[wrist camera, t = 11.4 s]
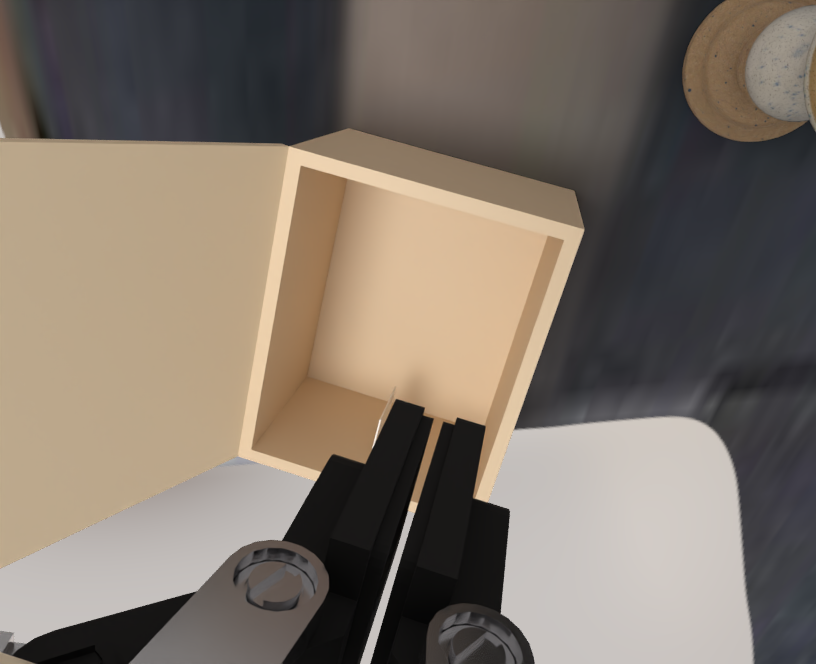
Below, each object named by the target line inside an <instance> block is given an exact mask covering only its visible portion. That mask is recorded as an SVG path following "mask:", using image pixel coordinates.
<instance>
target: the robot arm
mask: <svg viewBox="0 0 816 664" xmlns="http://www.w3.org/2000/svg"><path fill="white" fill-rule="evenodd" d="M424 410H425V407H422V406H418V405H415V404H412V403H409V402H405V401H402V400H399V399H396V400H395V402H394V404H393V406H392V408H391V410H390V413H389V415H388V417H387V419H386V421H385V423H384V425H383V427H382V429H381V432H380V434H379V436H378V438H377V440H376V442H375V444H374V446H373V448H372V451H371V453H370V455H369V457H368V459H367V461H366V463H365V464H364V463H361V462H358V461H355V460H351V459H348V458H345V457H342V456H339V455H336V454H333V455H331V457H330V458H329V460H328V461H327V463H326V465H325V467H324V468H323V470H322V472H321V474H320V475H319V477H318V479H317V481H316V482H315V484H314V486H313V488H312V489H311V491H310V493H309V495H308V496H307V498H306V500H305V502H304V504H303V505H302V507H301V508H300V510H299V512H298V514H297V516H296V517H295V519H294V521H293V522H292V524H291V526H290V528H289V530H288V531H287V533H286V535H285V537H284V538H283V540H282V541H278V540H267V541H259V542H254V543H252V544H249V545H247V546H244V547H242V548H240V549H239V550H238V551H236V552H235V553H234V554H232V555H231V556H230V557H229V558H228V559H227V560H226V561H225V562H224V563H223V564H222V565H221V567H220V568H219V569H218V570H217V571H216V572H215V573H214V574H213V575H212V576H211V577H210V578H209V579H208V581H206V582H205V583H204V585H203V586H202V587H201V588H200V589H199V590H198V591H196V592H193V593H190V594H185V595H182V596H178V597H175V598H171V599H167V600H164V601H160V602H157V603H153V604H149V605H145V606H142V607H138V608H135V609H131V610H127V611H124V612H120V613H116V614H113V615H109V616H106V617H102V618H98V619H95V620H91V621H87V622H84V623H80V624H77V625H73V626H69V627H66V628H62V629H58V630H55V631H52V632H50V633H47V634H44V635H42V636H39V637H37V638H34V639H33V640H31V641H30V642H28V643H27V644H23V643H15V642H14V633H11V632H4V631H0V664H360V661H361V658H362V656H363V652H364V649H365V646H366V643H367V640H368V637H369V633H370V631H371V628H372V625H373V621H374V618H375V615H376V612H377V609H378V606H379V603H380V600H381V596H382V594H383V590H384V587H385V584H386V581H387V578H388V575H389V572H390V569H391V566H392V563H393V559H394V556H395V553H396V550H397V547H398V544H399V540H400V537H401V533H402V529H403V526H404V523H405V519H406V516H407V512H408V509H409V505H410V502H411V498H412V495H413V491H414V488H415V484H416V481H417V477H418V474H419V470H420V466H421V463H422V459H423V456H424V452H425V449H426V445H427V442H428V438H429V435H430V431H431V428H432V424H433V421H434V418H431V417H427V416H424V415H423V414H424ZM485 429H486V426H484V425H481V424H478V423H474V422H471V421H468V420H464V419H461V418H458V417H457V418H456V422H455V425H454V424H450V423H447V422H444V421H443V424H442V427H441V430H440V433H439V437H438V440H437V443H436V446H435V450H434V453H433V456H432V459H431V463H430V466H429V469H428V472H427V476H426V479H425V482H424V485H423V489H422V492H421V495H420V498H419V502H418V505H417V508H416V511H415V515H414V518H413V521H412V525H411V527H410V531H409V534H408V537H407V541H406V544H405V547H404V550H403V554H402V557H401V560H400V564H399V567H398V570H397V574H396V577H395V581H394V584H393V587H392V591H391V595H390V598H389V601H388V605H387V609H386V612H385V615H384V619H383V623H382V626H381V629H380V633H379V636H378V639H377V643H376V647H375V650H374V653H373V657H372V660H371V663H370V664H535V662H534V657H533V654H532V650H531V648H530V644H529V642H528V641H527V639H526V638H525V636H524V635H523V633H522V632H521V630H520V629H519V628H518V627H517V626H516V625H515V624H513V623H512V622H511V621H510V620H509V619H508V618H507V617H505V616H503V615H502V614H501V603H502V592H503V582H504V571H505V560H506V549H507V538H508V528H509V517H510V511H509V509H507V508H503V507H500V506H497V505H493V504H491V503H488V502H484V501H481V500H478V499H475V498H473V494H474V489H475V483H476V478H477V472H478V467H479V462H480V456H481V451H482V445H483V440H484V434H485Z"/></svg>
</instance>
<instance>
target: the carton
mask: <svg viewBox="0 0 816 664" xmlns="http://www.w3.org/2000/svg"><path fill="white" fill-rule="evenodd" d="M584 230H585V229H584V225H583V221H582V217H581V214H580V210H579V206H578V202H577V198H576V195H575V191H574V190H570V189H566V188H563V187H559V186H556V185H552V184H548V183H545V182H541V181H537V180H534V179H530V178H527V177H523V176H519V175H516V174H512V173H509V172H505V171H501V170H498V169H494V168H490V167H487V166H483V165H480V164H476V163H472V162H469V161H465V160H462V159H458V158H454V157H451V156H447V155H443V154H440V153H436V152H433V151H429V150H425V149H422V148H418V147H415V146H411V145H407V144H404V143H400V142H397V141H393V140H389V139H386V138H382V137H378V136H375V135H371V134H368V133H364V132H360V131H357V130H353V129H350V128H348V129H345V130H341V131H338V132H335V133H332V134H328V135H325V136H322V137H318V138H315V139H312V140H309V141H305V142H302V143H299V144H296V145H292V146H289V150H288V156H287V162H286V168H285V174H284V180H283V186H282V192H281V198H280V204H279V210H278V216H277V222H276V228H275V234H274V240H273V246H272V252H271V258H270V264H269V270H268V277H267V283H266V289H265V295H264V301H263V307H262V313H261V319H260V325H259V331H258V337H257V343H256V349H255V355H254V361H253V367H252V373H251V379H250V385H249V391H248V397H247V403H246V409H245V416H244V422H243V428H242V434H241V440H240V446H239V452H238V456H239V457H242V458H245V459H248V460H251V461H254V462H258V463H261V464H264V465H267V466H270V467H273V468H276V469H279V470H283V471H286V472H289V473H292V474H295V475H298V476H301V477H304V478H307V479H311V480H314V481H317V479H318V477H319V475H320V474H321V472H322V470H323V468H324V467H325V465H326V463H327V461H328V460H329V458H330V457H331V455H333V454H336V455H339V456H342V457H345V458H348V459H351V460H355V461H358V462H361V463H364V464H365V463H366V461H367V459H368V457H369V455H370V453H371V451H372V448H373V446H374V444H375V442H376V440H377V438H378V436H379V434H380V432H381V429H382V427H383V425H384V423H385V421H386V419H387V417H388V415H389V413H390V410H391V408H392V406H393V404H394V402H395V400H396V399H399V400H402V401H405V402H409V403H412V404H415V405H418V406H422V407H425V410H424V414H423V415H424V416H427V417H431V418H434V421H433V424H432V428H431V431H430V435H429V438H428V442H427V445H426V449H425V452H424V456H423V459H422V463H421V466H420V470H419V474H418V477H417V481H416V484H415V488H414V491H413V495H412V498H411V502H410V505H409V509H408V511H410V512H413V513H415V511H416V508H417V505H418V502H419V498H420V495H421V492H422V489H423V485H424V482H425V479H426V476H427V472H428V469H429V466H430V463H431V459H432V456H433V453H434V450H435V446H436V443H437V440H438V437H439V433H440V430H441V427H442V424H443V421H444V422H447V423H450V424H454V425H455V422H456V418H457V417H458V418H461V419H464V420H468V421H471V422H474V423H478V424H481V425H484V426H486V429H485V434H484V440H483V445H482V451H481V456H480V462H479V467H478V472H477V478H476V483H475V489H474V494H473V498H475V499H478V500H481V501H484V502H488V501H489V498H490V495H491V492H492V489H493V487H494V483H495V481H496V478H497V475H498V472H499V469H500V467H501V464H502V461H503V458H504V456H505V453H506V450H507V447H508V444H509V441H510V439H511V436H512V433H513V430H514V427H515V425H516V422H517V419H518V416H519V413H520V410H521V408H522V405H523V402H524V399H525V396H526V394H527V391H528V388H529V385H530V382H531V379H532V377H533V374H534V371H535V368H536V365H537V363H538V360H539V357H540V354H541V351H542V348H543V346H544V343H545V340H546V337H547V334H548V332H549V329H550V326H551V323H552V320H553V317H554V315H555V312H556V309H557V306H558V303H559V301H560V298H561V295H562V292H563V289H564V286H565V284H566V281H567V278H568V275H569V272H570V270H571V267H572V264H573V261H574V258H575V255H576V253H577V250H578V247H579V244H580V241H581V239H582V236H583V233H584Z"/></svg>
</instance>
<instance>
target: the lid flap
mask: <svg viewBox="0 0 816 664" xmlns="http://www.w3.org/2000/svg"><path fill="white" fill-rule="evenodd" d="M288 150H289V146H287V145H284V144H267V143H218V142H169V141H120V140H72V139H23V138H0V569H1V568H3V567H5V566H7V565H9V564H11V563H13V562H15V561H17V560H19V559H22V558H24V557H26V556H28V555H30V554H32V553H34V552H36V551H39V550H41V549H43V548H45V547H47V546H49V545H51V544H53V543H55V542H57V541H60V540H62V539H64V538H66V537H68V536H70V535H72V534H74V533H77V532H79V531H81V530H83V529H85V528H86V527H89V526H91V525H93V524H96V523H98V522H100V521H102V520H104V519H106V518H108V517H110V516H112V515H115V514H117V513H119V512H121V511H123V510H125V509H127V508H129V507H131V506H134V505H136V504H138V503H140V502H142V501H144V500H146V499H148V498H150V497H153V496H155V495H157V494H159V493H161V492H163V491H165V490H167V489H169V488H172V487H174V486H176V485H178V484H180V483H182V482H184V481H186V480H188V479H191V478H192V477H195V476H197V475H199V474H201V473H203V472H205V471H207V470H209V469H212V468H214V467H216V466H218V465H220V464H222V463H224V462H226V461H229V460H231V459H233V458H235V457H237V456H238V452H239V446H240V440H241V434H242V428H243V422H244V416H245V409H246V403H247V397H248V391H249V385H250V379H251V373H252V367H253V361H254V355H255V349H256V343H257V337H258V331H259V325H260V319H261V313H262V307H263V301H264V295H265V289H266V283H267V277H268V270H269V264H270V258H271V252H272V246H273V240H274V234H275V228H276V222H277V216H278V210H279V204H280V198H281V192H282V186H283V180H284V174H285V168H286V162H287V156H288Z"/></svg>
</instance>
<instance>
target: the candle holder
mask: <svg viewBox="0 0 816 664" xmlns="http://www.w3.org/2000/svg"><path fill="white" fill-rule="evenodd" d="M682 80H683V89H684V94H685V97H686V100H687V103H688V105H689V107H690V109H691V110H692V112H693V114H694V115H695V116H696V118H697V119H698V120H699V121H700V122H701V123H702V124H703V125H704V126H705V127H706V128H708V129H709V130H710V131H712V132H714V133H716V134H717V135H719V136H722V137H725V138H728V139H731V140H736V141H742V142H757V141H765V140H769V139H773V138H777V137H780V136H782V135H785V134H787V133H789V132H791V131H793V130H795V129H796V128H798V127H800V126H801V125H803V124H804V123H806V122H807V121H809V120H810V123H811V125H812V126H813V128H814V130H815V132H816V0H725V1H724V2H722V3H721V4H719V5H718V6H717V7H716V8H715V9H714V10H713V11H712V12H711V13H710V14H709V15H708V16H707V17H706V18H705V19H704V21H703V22H702V23H701V24H700V25H699V27H698V29H697V30H696V32H695V33H694V35H693V37H692V39H691V41H690V43H689V46H688V48H687V51H686V55H685V58H684V63H683V71H682Z"/></svg>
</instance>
